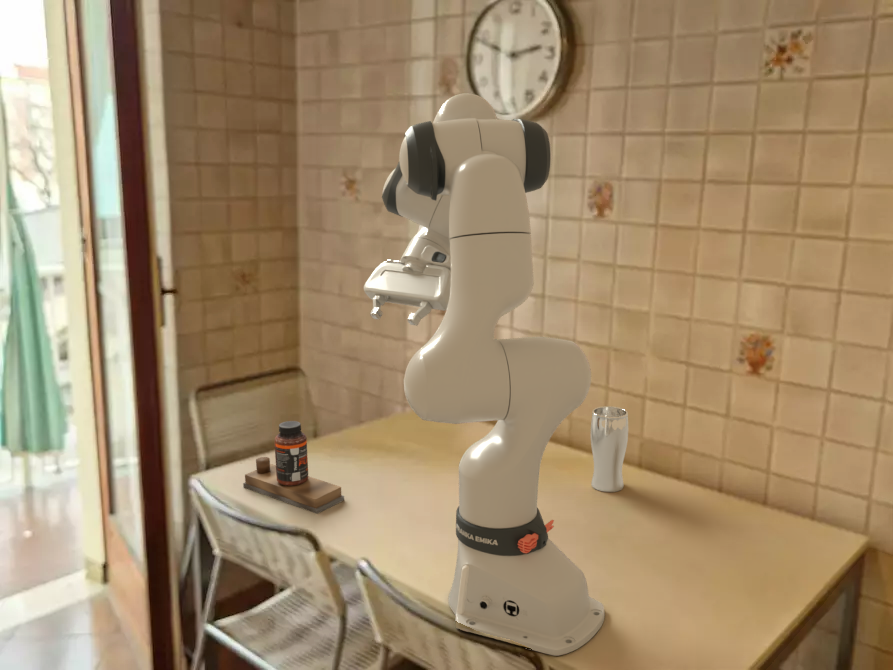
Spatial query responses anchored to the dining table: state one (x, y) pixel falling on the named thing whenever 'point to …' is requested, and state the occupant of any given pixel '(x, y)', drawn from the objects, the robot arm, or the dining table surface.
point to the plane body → (293, 488)
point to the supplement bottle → (291, 454)
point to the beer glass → (608, 447)
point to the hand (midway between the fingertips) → (392, 320)
